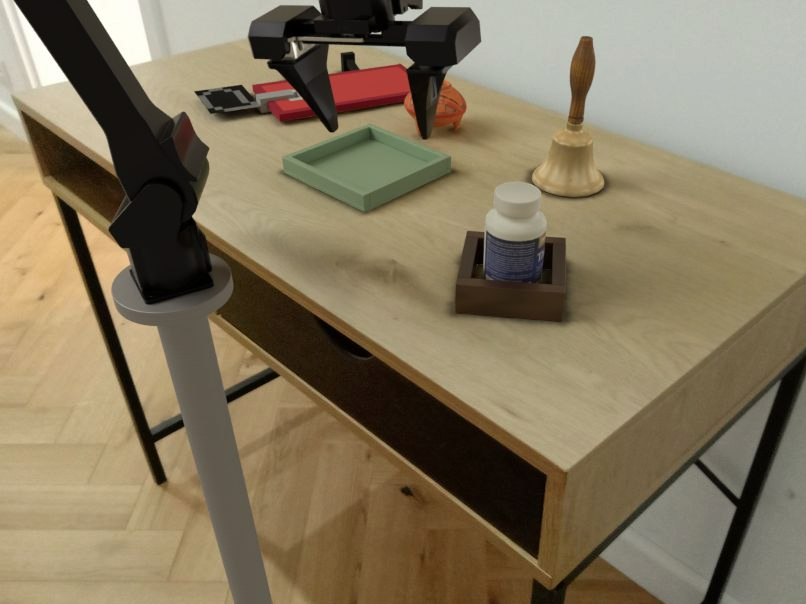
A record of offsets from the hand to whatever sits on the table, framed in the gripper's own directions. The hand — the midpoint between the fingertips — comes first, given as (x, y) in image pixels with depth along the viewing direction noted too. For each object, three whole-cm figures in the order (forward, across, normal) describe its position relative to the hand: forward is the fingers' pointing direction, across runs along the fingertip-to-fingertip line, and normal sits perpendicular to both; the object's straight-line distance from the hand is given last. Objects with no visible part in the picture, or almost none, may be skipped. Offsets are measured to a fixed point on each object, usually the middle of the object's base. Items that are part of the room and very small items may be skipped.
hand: (379, 134), depth 68 cm
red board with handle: (+11, +29, -33) cm, 45 cm away
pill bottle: (+14, -12, +1) cm, 18 cm away
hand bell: (+15, -10, -22) cm, 29 cm away
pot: (+13, +9, -29) cm, 33 cm away
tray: (+12, +11, -15) cm, 22 cm away
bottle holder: (+14, -12, +1) cm, 18 cm away
